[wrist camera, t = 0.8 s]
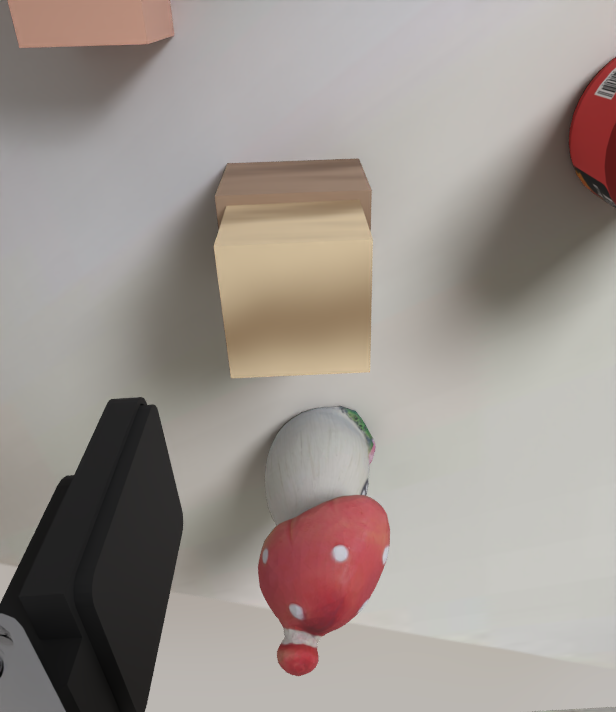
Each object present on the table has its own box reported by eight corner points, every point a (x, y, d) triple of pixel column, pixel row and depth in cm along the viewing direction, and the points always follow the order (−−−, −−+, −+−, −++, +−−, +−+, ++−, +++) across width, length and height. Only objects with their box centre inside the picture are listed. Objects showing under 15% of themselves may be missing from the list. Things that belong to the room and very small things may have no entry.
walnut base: (227, 163, 31) (214, 195, 26) (358, 158, 31) (371, 190, 26) (239, 283, 35) (230, 332, 30) (356, 278, 35) (367, 327, 30)
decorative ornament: (299, 498, 44) (302, 703, 31) (236, 451, 41) (211, 653, 29) (396, 431, 41) (442, 630, 28) (334, 375, 38) (354, 566, 25)
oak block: (226, 205, 26) (213, 246, 22) (359, 199, 26) (372, 238, 22) (240, 322, 29) (230, 378, 25) (358, 317, 29) (369, 372, 25)
